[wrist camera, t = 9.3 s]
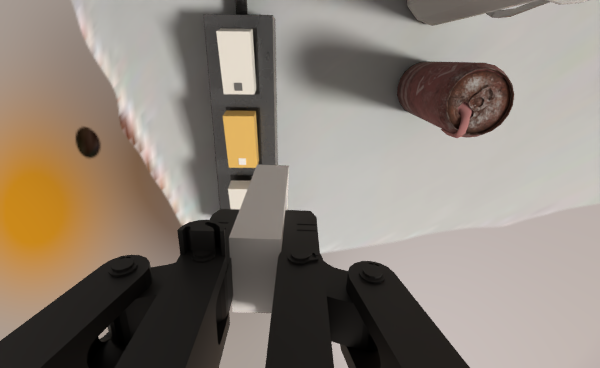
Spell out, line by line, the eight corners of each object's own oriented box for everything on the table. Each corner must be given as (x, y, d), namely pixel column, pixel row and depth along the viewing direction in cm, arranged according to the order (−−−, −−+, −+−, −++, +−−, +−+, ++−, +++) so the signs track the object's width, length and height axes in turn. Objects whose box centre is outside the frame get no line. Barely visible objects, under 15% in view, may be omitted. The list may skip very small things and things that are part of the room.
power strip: (207, -44, 35) (196, -57, 31) (274, -44, 35) (271, -56, 31) (227, 218, 46) (221, 232, 42) (278, 218, 46) (276, 232, 42)
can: (388, 109, 41) (430, 133, 28) (406, 56, 38) (461, 54, 25) (434, 121, 41) (497, 150, 28) (454, 69, 39) (533, 74, 26)
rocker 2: (230, 180, 38) (227, 189, 37) (258, 180, 38) (256, 189, 37) (235, 220, 41) (233, 230, 40) (261, 220, 41) (259, 230, 40)
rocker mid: (226, 110, 35) (222, 116, 34) (255, 110, 35) (253, 116, 34) (231, 160, 39) (228, 167, 37) (258, 160, 39) (257, 168, 37)
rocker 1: (220, 28, 32) (215, 31, 31) (252, 28, 32) (250, 31, 31) (226, 89, 36) (223, 94, 34) (256, 89, 36) (254, 94, 34)
